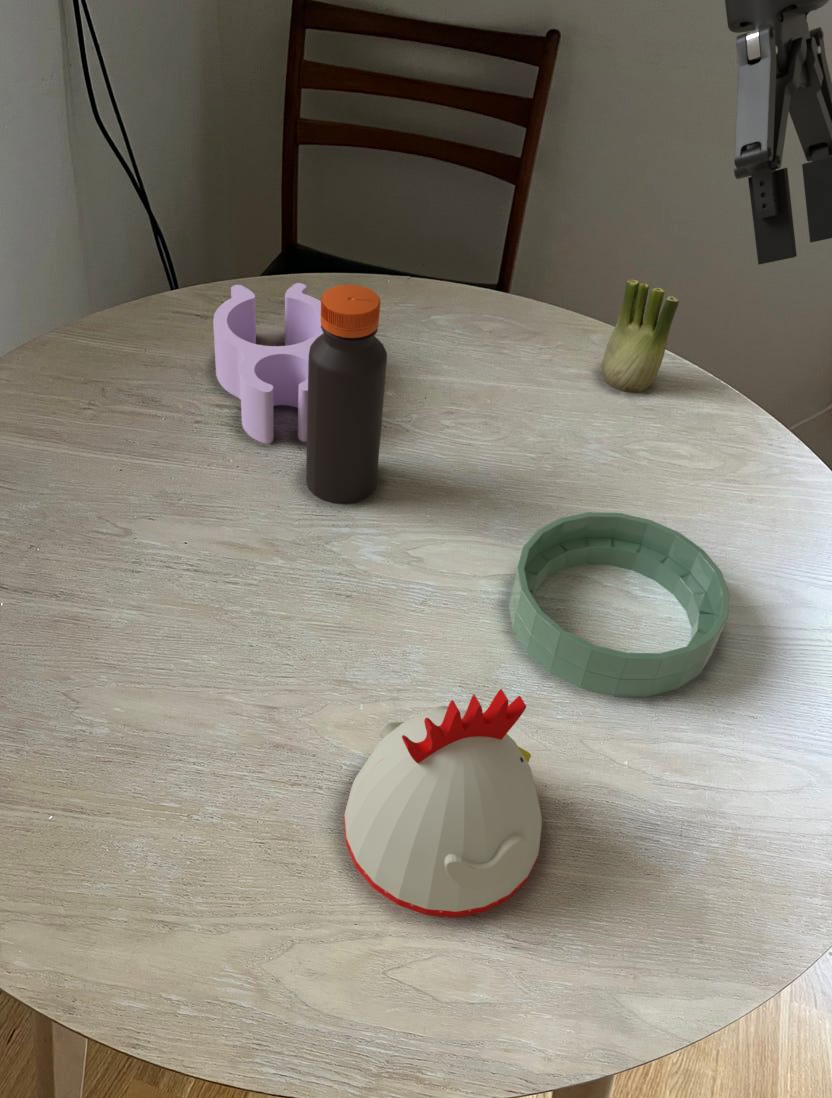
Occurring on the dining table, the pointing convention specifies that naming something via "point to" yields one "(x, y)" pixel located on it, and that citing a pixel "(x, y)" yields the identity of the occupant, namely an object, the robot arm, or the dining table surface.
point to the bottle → (345, 397)
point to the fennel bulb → (638, 338)
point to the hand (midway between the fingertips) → (803, 249)
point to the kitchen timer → (446, 810)
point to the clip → (266, 359)
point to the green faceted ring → (627, 548)
